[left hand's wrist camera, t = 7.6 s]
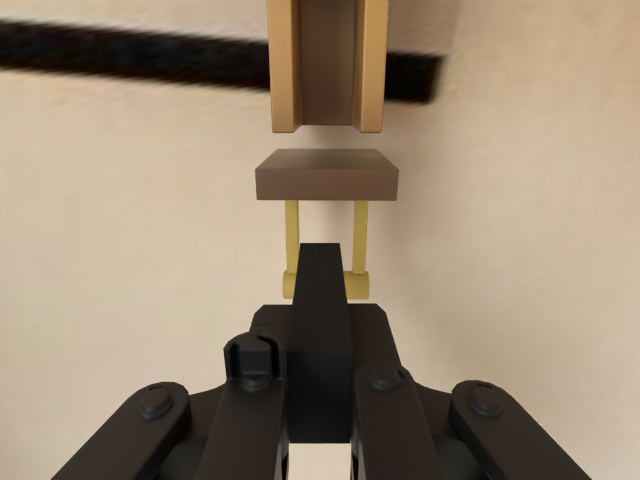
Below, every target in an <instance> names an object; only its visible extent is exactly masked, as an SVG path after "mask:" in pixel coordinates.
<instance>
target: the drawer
mask: <svg viewBox="0 0 640 480" xmlns="http://www.w3.org/2000/svg"><path fill="white" fill-rule="evenodd" d="M388 11H389V0H267V12H268V37H269V62H270V87H271V112H272V132H273V133H293V132H295V131H296V130H297V129H298V128H299V127H301V126H302V125H353V126H354V127H355V128H356V129H357V130H359V131H360V132H361V133H381V132H382V122H383V103H384V85H385V66H386V48H387V29H388ZM398 175H399V169H397V168H396V167H395V166H394V165H393V164H392V163H391V162H390V161H389V160H388V159H386V158H385V157H384V156H383V155H382V154H381V153H380V152H379V151H378V150H377V149H277V150H276V151H275V152H273V153H272V154H271V155H270V156H269V157H268V158H267V159H266V160H265V161H264V162H263V163H261V164H260V165H259V166H258V167H257V168H256V169H255V176H256V194H257V200H285V219H286V251H287V271H284V274H283V297H284V299H293V296H294V288H295V281H296V273H297V265H298V258H299V205H298V200H347V201H355V202H354V232H353V263H352V271H343V273H344V281H345V288H346V296H347V299H368V297H369V275H368V272H367V271H365V258H366V236H367V214H368V201H396V200H397V189H398Z"/></svg>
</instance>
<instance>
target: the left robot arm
mask: <svg viewBox="0 0 640 480" xmlns="http://www.w3.org/2000/svg"><path fill="white" fill-rule="evenodd" d="M224 358H225V368H226V377H227V380H226V383H225V384H223V385H221V386H219V387H217V388H214V389H211V390H208V391H205V392H200V393H196V394H192V395H189V394H188V391H187V390H186V389H185V387H184V386H183V385H180V384H178V383H175V382H160V383H155V384H151V385H148V386H146V387H144V388H142V389H140V390H138V391H137V392H136V393H134V394H133V395H132V396H131V397H129V398H128V399H127V400H126V401H125V402H124V403H123V404H122V405H121V406H120V407H119V408H118V410H117V411H116V412H115V413H114V414H113V415H112V416H111V417H110V418H109V419H108V420H107V421H106V422H105V423H104V424H103V425H102V426H101V427H100V428H99V429H98V430H97V432H96V433H95V434H94V435H93V436H92V437H91V438H90V439H89V440H88V441H87V442H86V443H85V444H84V445H83V446H82V447H81V448H80V449H79V450H78V451H77V452H76V454H75V455H74V456H73V457H72V458H71V459H70V460H69V461H68V462H67V463H66V464H65V465H64V466H63V467H62V468H61V469H60V470H59V471H58V472H57V473H56V474H55V476H54V477H53V478H52V479H51V480H288V472H289V439H290V443H350V439H351V447H352V448H351V473H350V480H592V479H591V478H590V477H589V476H588V475H587V474H586V473H585V472H584V471H583V470H582V469H581V468H580V467H579V466H578V465H577V464H576V463H575V462H574V460H573V459H572V458H571V457H570V456H569V455H568V454H567V453H566V452H565V451H564V450H563V449H562V448H561V447H560V446H559V445H558V444H557V443H556V442H555V441H554V440H553V439H552V438H551V437H550V436H549V434H548V433H547V432H546V431H545V430H544V429H543V428H542V427H541V426H540V425H539V424H538V423H537V422H536V421H535V420H534V419H533V418H532V417H531V416H530V415H529V414H528V413H527V412H526V411H525V409H524V408H523V407H522V406H521V405H520V404H519V403H518V402H517V401H516V400H515V399H514V398H513V397H512V396H511V395H509V394H508V393H507V392H506V391H504V390H503V389H502V388H499V387H497V386H495V385H493V384H491V383H488V382H483V381H479V380H467V381H464V382H461V383H459V384H457V385H456V386H455V387H454V389H453V390H452V394H450V393H446V392H442V391H438V390H433V389H430V388H427V387H424V386H422V385H420V384H418V383H416V382H415V381H414V380H413V378H412V376H411V374H410V373H409V371H408V370H406V369H405V368H404V367H403V366H402V365H401V362H400V359H399V355H398V352H397V349H396V345H395V342H394V339H393V335H392V334H391V329H390V325H389V322H388V319H387V315H386V312H385V311H384V310H383V309H381V308H380V307H379V306H378V305H377V304H348V303H347V296H346V288H345V281H344V273H343V265H342V258H341V250H340V243H300V250H299V258H298V265H297V273H296V281H295V288H294V296H293V303H292V305H263V306H262V307H261V308H260V309H259V310H258V311H257V312H256V313H255V314H254V317H253V320H252V324H251V327H250V330H249V332H246V333H243V334H240V335H238V336H236V337H234V338H233V339H231V340H230V341H228V343H227V344H226V346H225V347H224Z"/></svg>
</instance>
